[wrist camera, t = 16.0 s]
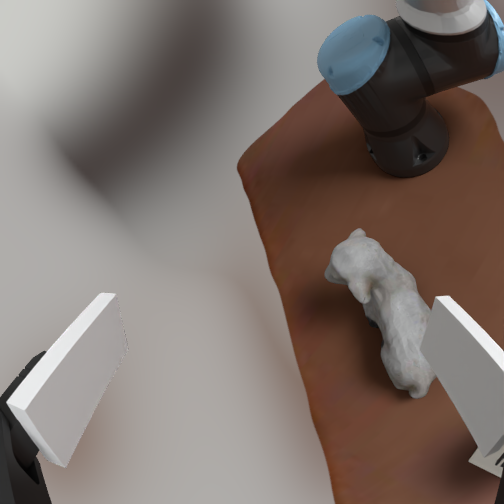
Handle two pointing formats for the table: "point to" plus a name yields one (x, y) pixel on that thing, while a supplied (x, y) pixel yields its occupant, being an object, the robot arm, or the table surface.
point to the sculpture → (387, 308)
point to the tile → (488, 461)
